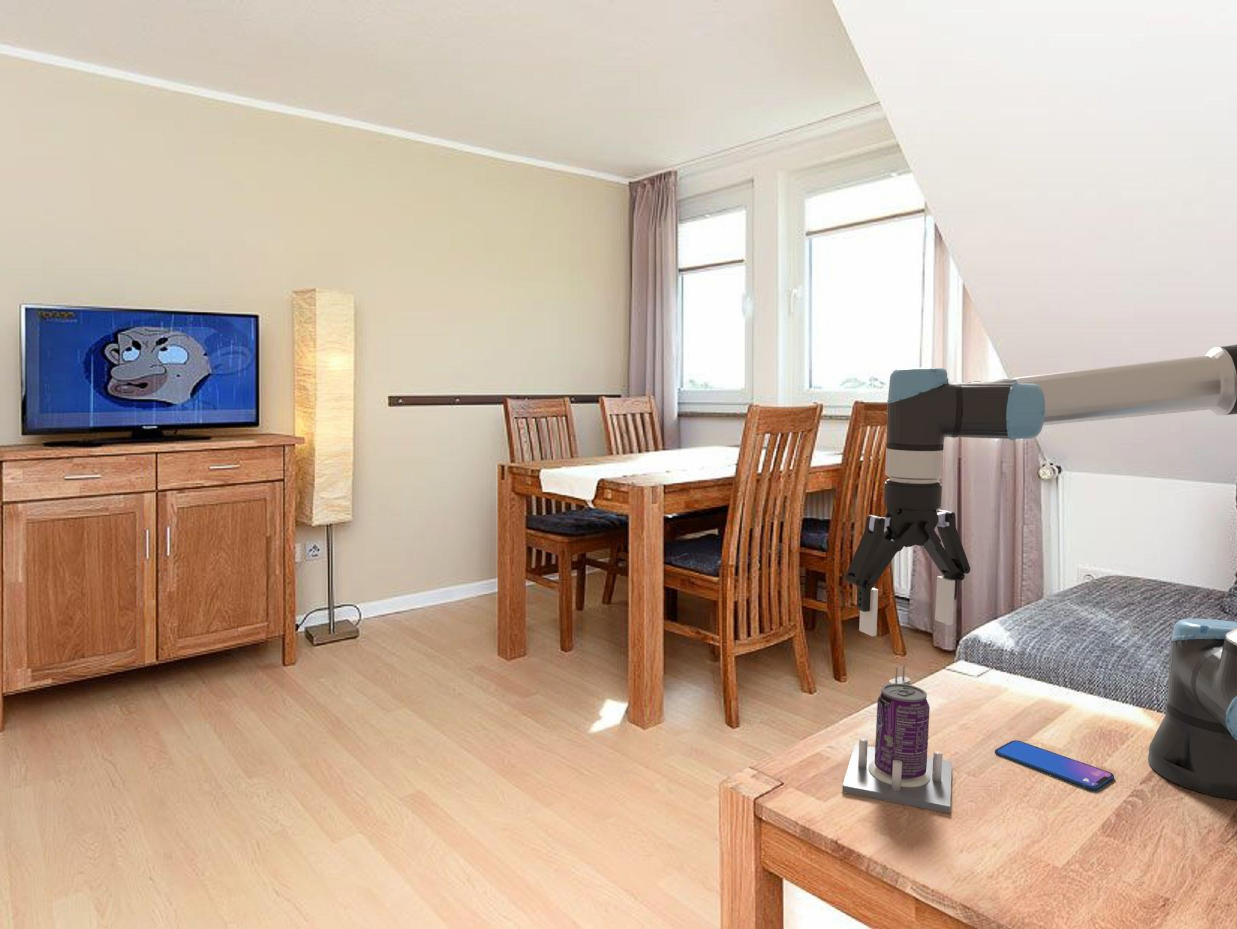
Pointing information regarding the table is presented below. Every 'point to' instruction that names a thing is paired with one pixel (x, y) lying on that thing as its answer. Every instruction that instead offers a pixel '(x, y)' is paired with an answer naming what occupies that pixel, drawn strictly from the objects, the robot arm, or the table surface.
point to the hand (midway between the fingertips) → (906, 627)
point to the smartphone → (1056, 765)
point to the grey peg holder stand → (899, 780)
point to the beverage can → (902, 729)
